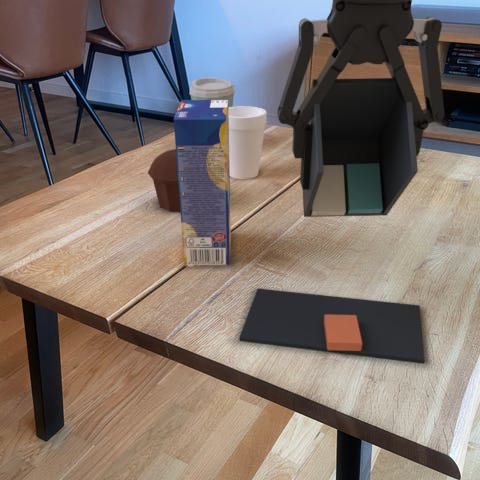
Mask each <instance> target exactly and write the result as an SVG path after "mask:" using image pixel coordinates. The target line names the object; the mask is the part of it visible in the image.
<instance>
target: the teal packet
mask: <svg viewBox="0 0 480 480" xmlns="http://www.w3.org/2000/svg"><path fill="white" fill-rule="evenodd" d="M345 179H346V194H347V209H348V214H360V213H381V211H382V210H383V204H382V192H381V179H380V167H379V164H346V167H345Z"/></svg>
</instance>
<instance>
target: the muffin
mask: <svg viewBox="0 0 480 480" xmlns="http://www.w3.org/2000/svg"><path fill="white" fill-rule="evenodd" d="M147 175H149V177H150V178H151V179H152V182H153V186H154V190H155V193H156V197H157V201H158V205H159V209H162V210H166V211H168V212H170V213H181V212H180V198H179V185H178V171H177V158H176V148H174V149H173V148H172V149H169V150H166V151H164V152H162V153H160V154H159V155H157V156H156V157H155V158H154V160H153V161H152V162H151V164H150V166H149V169H148V171H147Z"/></svg>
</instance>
